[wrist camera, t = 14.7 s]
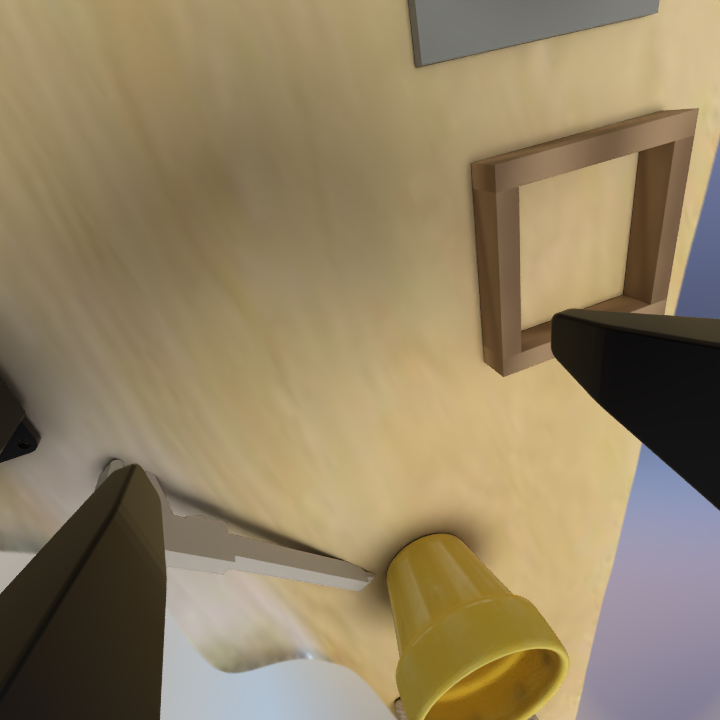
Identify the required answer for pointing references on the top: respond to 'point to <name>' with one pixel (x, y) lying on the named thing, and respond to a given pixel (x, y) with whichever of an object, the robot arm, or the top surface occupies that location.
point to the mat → (507, 23)
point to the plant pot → (467, 638)
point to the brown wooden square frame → (647, 237)
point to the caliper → (242, 550)
